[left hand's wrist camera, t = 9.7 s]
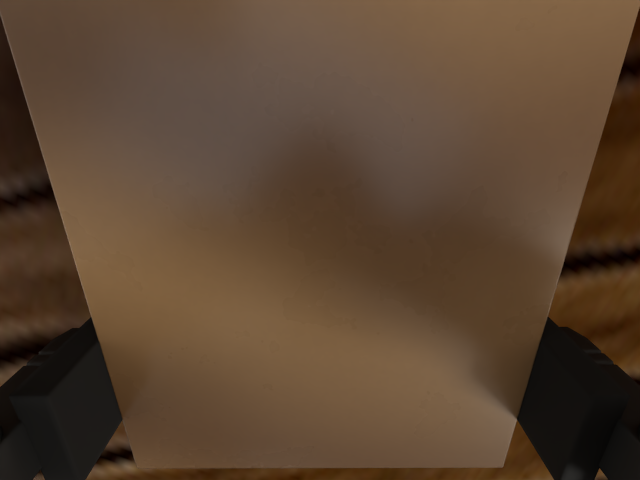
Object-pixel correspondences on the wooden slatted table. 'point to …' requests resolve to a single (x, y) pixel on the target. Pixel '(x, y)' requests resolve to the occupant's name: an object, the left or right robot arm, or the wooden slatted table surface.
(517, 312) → the cabinet
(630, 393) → the left robot arm
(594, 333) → the wooden slatted table surface
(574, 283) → the wooden slatted table surface
